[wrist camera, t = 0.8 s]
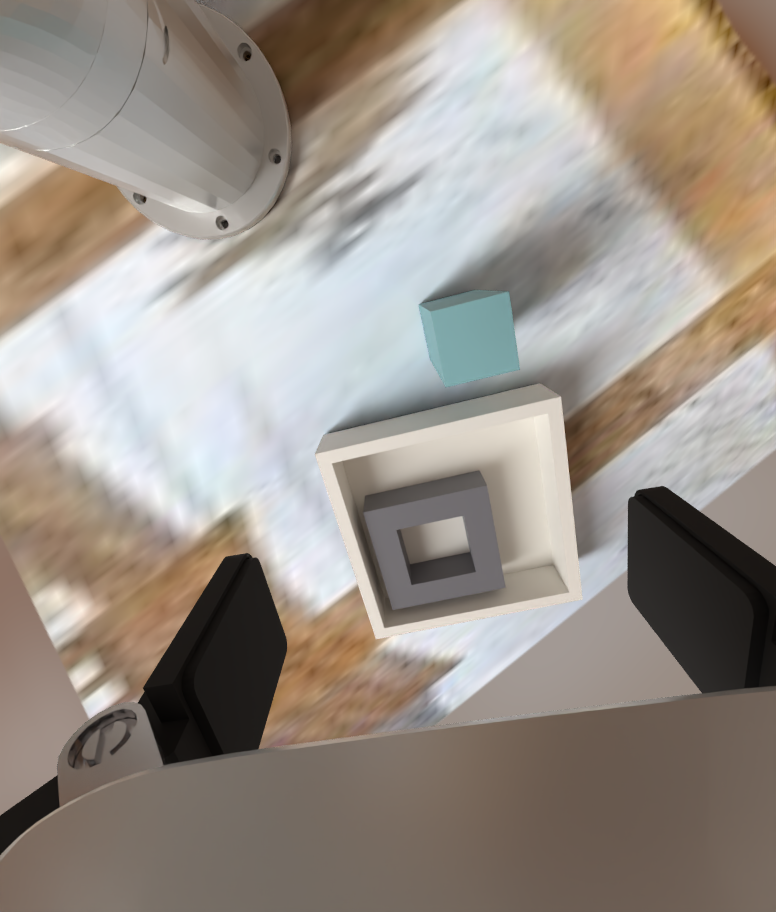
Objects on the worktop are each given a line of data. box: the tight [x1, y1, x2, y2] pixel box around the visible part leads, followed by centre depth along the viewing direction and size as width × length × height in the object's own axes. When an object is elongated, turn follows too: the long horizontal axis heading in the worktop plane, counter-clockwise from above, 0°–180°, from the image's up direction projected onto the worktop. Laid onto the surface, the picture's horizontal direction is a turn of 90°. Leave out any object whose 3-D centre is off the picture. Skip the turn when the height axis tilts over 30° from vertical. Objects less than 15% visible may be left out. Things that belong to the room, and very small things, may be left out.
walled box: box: [315, 383, 582, 639], centre depth 36 cm, size 18×18×4 cm
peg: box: [419, 290, 520, 387], centre depth 28 cm, size 4×4×10 cm
